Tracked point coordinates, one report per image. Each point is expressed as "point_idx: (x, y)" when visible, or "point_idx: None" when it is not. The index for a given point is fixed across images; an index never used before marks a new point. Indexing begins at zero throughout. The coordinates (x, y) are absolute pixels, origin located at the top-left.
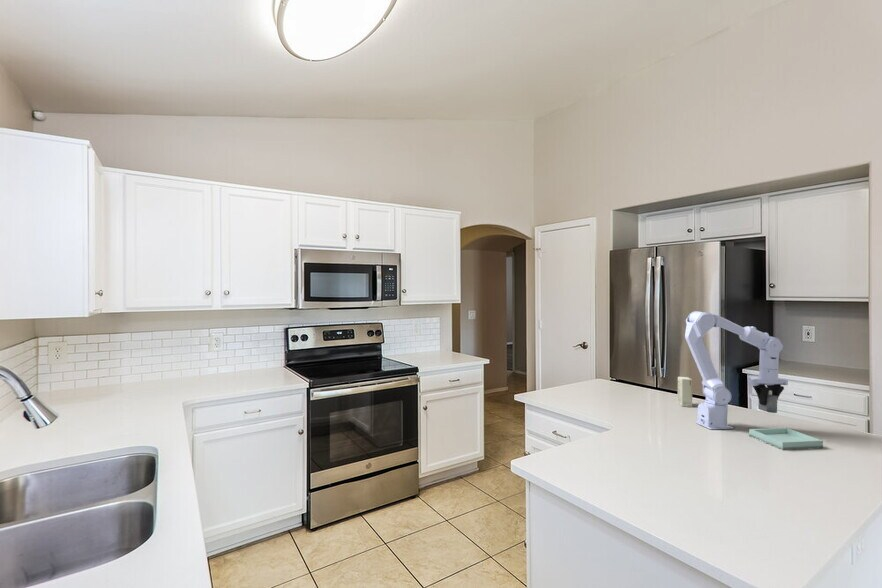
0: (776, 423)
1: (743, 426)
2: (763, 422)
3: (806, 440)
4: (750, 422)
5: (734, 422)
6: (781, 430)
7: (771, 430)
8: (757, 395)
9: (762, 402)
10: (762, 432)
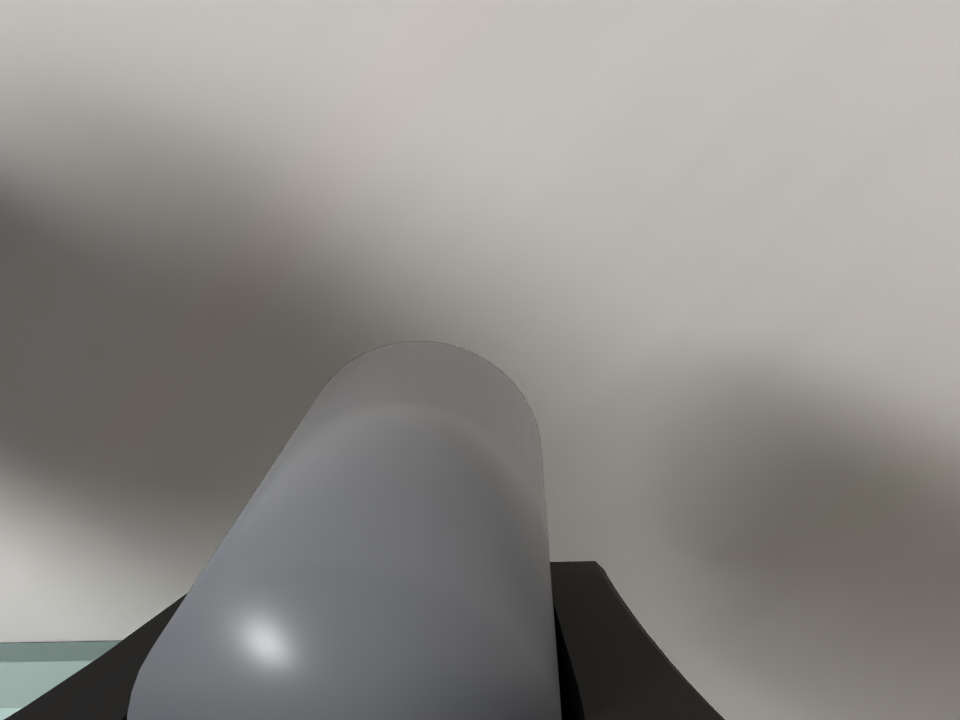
0: (905, 124)
1: (155, 252)
2: (706, 51)
3: None
4: (449, 38)
5: (139, 22)
6: None
7: None
8: (27, 710)
9: None
10: None
